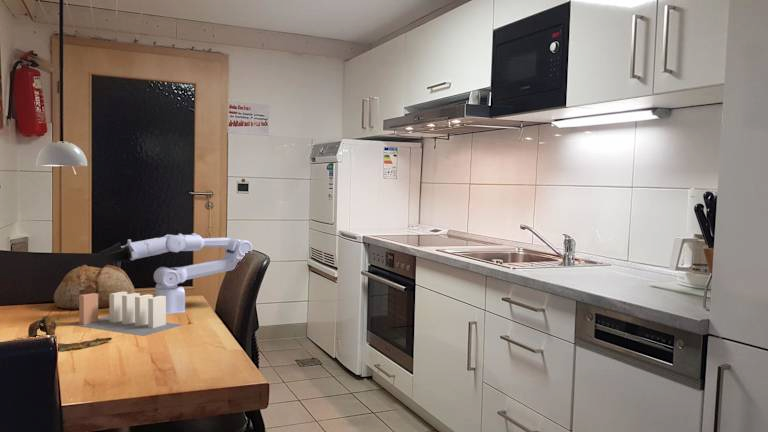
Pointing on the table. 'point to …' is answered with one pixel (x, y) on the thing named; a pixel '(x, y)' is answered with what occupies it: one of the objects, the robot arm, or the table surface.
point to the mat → (126, 327)
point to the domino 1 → (88, 308)
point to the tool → (50, 330)
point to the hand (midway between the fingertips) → (102, 256)
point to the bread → (91, 285)
